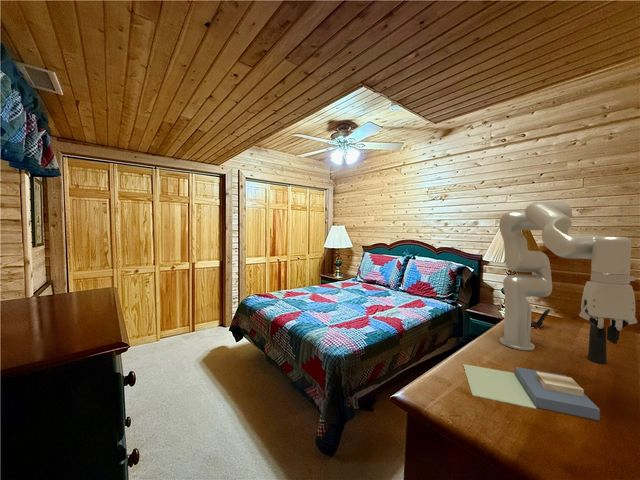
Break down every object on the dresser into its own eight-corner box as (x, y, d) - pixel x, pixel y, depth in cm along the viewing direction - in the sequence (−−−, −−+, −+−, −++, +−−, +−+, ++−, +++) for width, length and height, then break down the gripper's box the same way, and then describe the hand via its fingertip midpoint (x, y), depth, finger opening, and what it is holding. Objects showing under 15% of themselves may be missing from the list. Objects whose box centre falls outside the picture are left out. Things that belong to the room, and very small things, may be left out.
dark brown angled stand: (522, 321, 149) (523, 303, 149) (549, 327, 139) (550, 309, 139) (516, 324, 143) (517, 306, 143) (545, 331, 134) (545, 312, 133)
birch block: (535, 377, 86) (535, 371, 86) (570, 383, 82) (571, 377, 82) (545, 389, 79) (545, 383, 79) (583, 396, 76) (583, 390, 76)
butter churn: (571, 356, 107) (574, 288, 106) (586, 353, 110) (589, 287, 109) (600, 367, 98) (604, 293, 97) (616, 363, 101) (620, 292, 100)
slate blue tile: (515, 375, 92) (515, 366, 92) (565, 384, 87) (565, 375, 87) (535, 407, 76) (536, 397, 75) (599, 420, 71) (600, 409, 70)
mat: (462, 364, 99) (462, 364, 99) (513, 373, 93) (513, 372, 93) (472, 395, 81) (472, 394, 81) (536, 409, 75) (536, 408, 75)
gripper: (636, 278, 76) (633, 340, 77) (567, 274, 82) (564, 332, 83) (658, 283, 69) (654, 351, 70) (581, 279, 75) (578, 341, 76)
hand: (605, 340), depth 76 cm, fingers closed
